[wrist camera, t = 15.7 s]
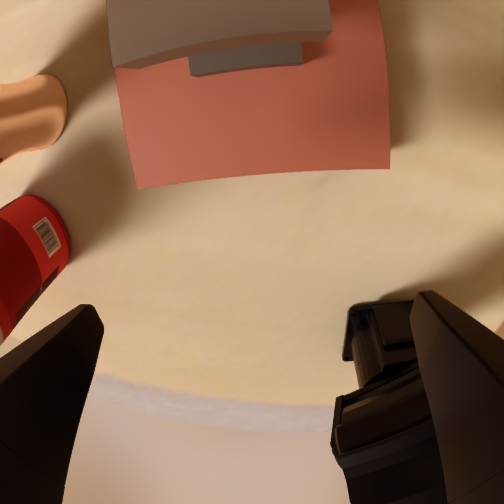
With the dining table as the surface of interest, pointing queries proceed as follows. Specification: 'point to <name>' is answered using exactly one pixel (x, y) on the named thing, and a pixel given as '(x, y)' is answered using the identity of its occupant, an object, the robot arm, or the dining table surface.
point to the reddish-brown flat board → (265, 110)
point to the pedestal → (215, 33)
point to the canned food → (28, 256)
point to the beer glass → (31, 115)
